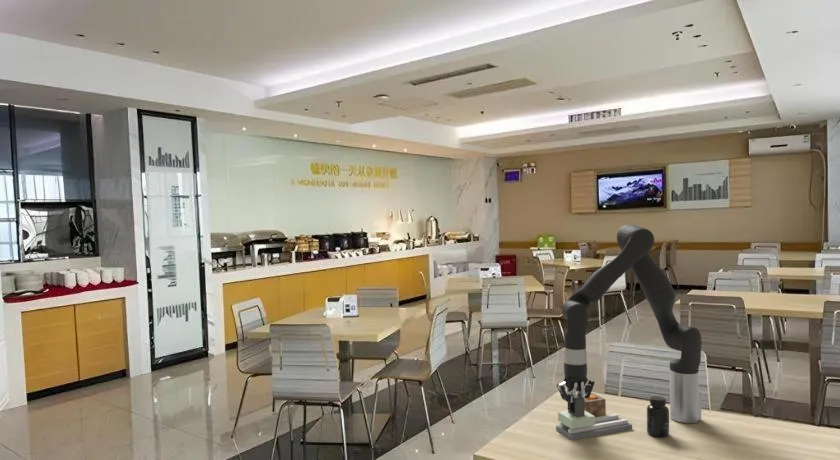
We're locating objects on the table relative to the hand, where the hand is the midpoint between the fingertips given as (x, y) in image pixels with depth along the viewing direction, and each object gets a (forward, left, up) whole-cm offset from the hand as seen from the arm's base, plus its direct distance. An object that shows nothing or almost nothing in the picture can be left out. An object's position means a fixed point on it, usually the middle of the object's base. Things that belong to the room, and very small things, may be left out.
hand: (576, 411), depth 184 cm
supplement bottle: (-24, +11, -7) cm, 27 cm away
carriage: (0, 0, -4) cm, 4 cm away
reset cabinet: (-12, -9, -7) cm, 17 cm away
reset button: (-12, -9, -3) cm, 15 cm away
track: (-7, 0, -7) cm, 10 cm away
